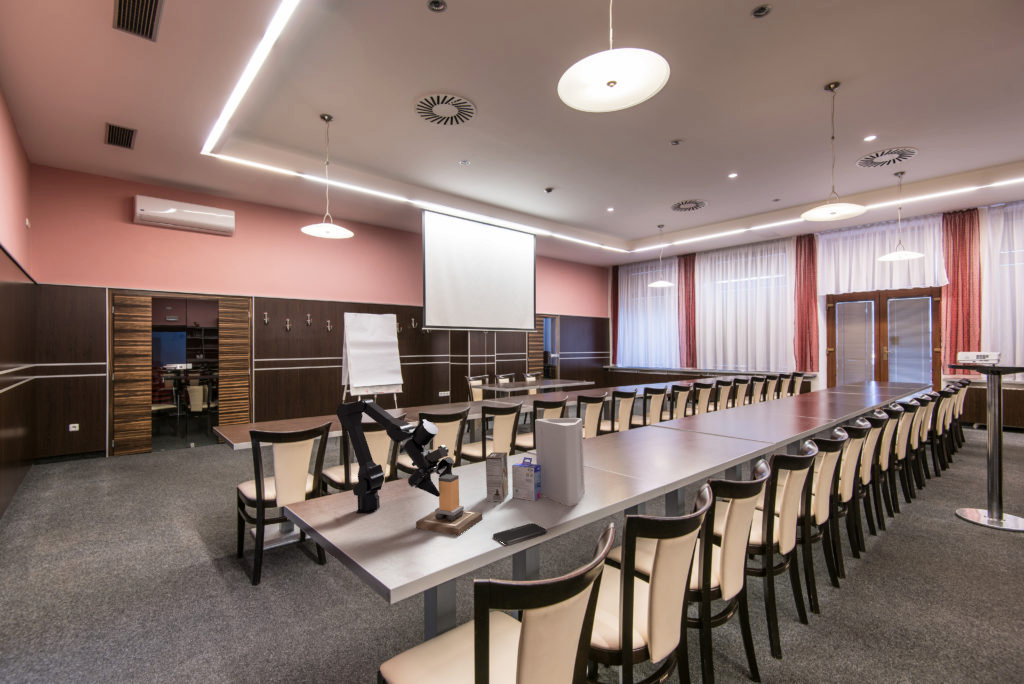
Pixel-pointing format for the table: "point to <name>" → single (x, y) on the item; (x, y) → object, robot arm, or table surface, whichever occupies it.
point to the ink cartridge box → (526, 480)
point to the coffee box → (497, 476)
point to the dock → (449, 523)
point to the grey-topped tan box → (449, 498)
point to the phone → (520, 533)
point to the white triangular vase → (561, 459)
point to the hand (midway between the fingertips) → (447, 491)
